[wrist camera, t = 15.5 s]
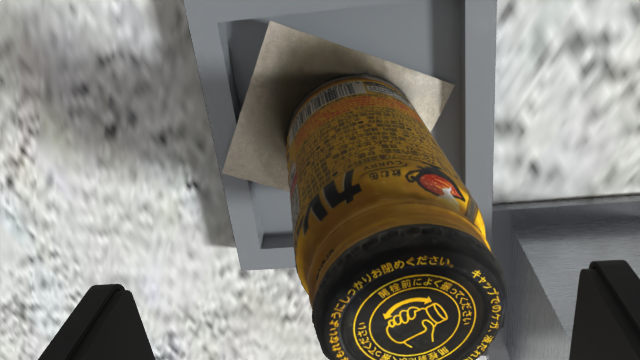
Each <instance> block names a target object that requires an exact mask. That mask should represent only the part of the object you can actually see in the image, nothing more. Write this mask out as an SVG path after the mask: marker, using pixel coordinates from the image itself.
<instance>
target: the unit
mask: <svg viewBox="0 0 640 360" xmlns="http://www.w3.org/2000/svg"><path fill="white" fill-rule="evenodd" d="M491 252H492V254H493V255H494V257H495V258H496V260H497V261H498V262H499V264H500V266H501V268H502V269H503V271H504V276H505V279H506V287H507V295H508V306H507V311H506V318H505V322H504V327H503V328H502V329H500V331H499V332H498V334H497V336H496V337H495V339H494V341H492V342H491V344H490V345H489V347H488V348H487V350H486V358H487V360H569V355H570V347H571V339H572V331H573V323H574V315H575V307H576V299H577V291H578V283H579V275H580V271H581V270H582V269H589V265H590V263H591V262H592V261H603V260H625V261H626V262H627V263H628V264H629V265H630V266H631V268H632V269H633V271H634V272H635V273H636V275H637V276H638V277H639V279H640V195H631V196H616V197H602V198H587V199H572V200H558V201H543V202H529V203H514V204H500V205H492V239H491Z"/></svg>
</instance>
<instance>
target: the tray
mask: <svg viewBox="0 0 640 360" xmlns="http://www.w3.org/2000/svg"><path fill="white" fill-rule="evenodd" d="M183 1H184V6H185V10H186V15H187V20H188V24H189V29H190V34H191V38H192V43H193V48H194V52H195V57H196V62H197V66H198V71H199V75H200V80H201V85H202V89H203V94H204V99H205V103H206V108H207V113H208V117H209V122H210V127H211V131H212V136H213V141H214V145H215V150H216V155H217V159H218V164H219V169H220V173H221V178H222V183H223V187H224V192H225V197H226V201H227V206H228V211H229V215H230V220H231V225H232V229H233V234H234V239H235V243H236V248H237V253H238V257H239V262H240V267H241V271H243V270H261V269H278V268H295V267H296V266H295V265H296V263H295V253H294V244H293V243H294V242H293V232H292V220H291V219H292V215H291V202H290V192H289V191H284V190H281V189H278V188H275V187H271V186H265V185H262V184H259V183H256V182H253V181H249V180H244V179H240V178H237V177H234V176H231V175H227V174H223V173H222V171H223V168H224V164H225V161H226V158H227V155H228V152H229V148H230V145H231V142H232V139H233V136H234V132H235V130H236V126H237V123H238V119H239V116H240V113H241V110H242V107H243V104H244V100H245V97H246V94H247V91H248V88H249V85H250V81H251V78H252V75H253V73H254V69H255V66H256V63H257V59H258V56H259V53H260V50H261V47H262V44H263V41H264V38H265V34H266V31H267V28H268V25H269V22H270V21H272V22H275V23H278V24H281V25H284V26H287V27H289V28H292V29H295V30H298V31H301V32H304V33H308V34H311V35H314V36H317V37H319V38H322V39H325V40H328V41H330V42H333V43H336V44H339V45H342V46H344V47H347V48H350V49H353V50H356V51H359V52H363V53H365V54H368V55H371V56H374V57H377V58H380V59H383V60H385V61H389V62H392V63H395V64H397V65H400V66H403V67H406V68H408V69H411V70H414V71H417V72H420V73H423V74H426V75H428V76H431V77H434V78H437V79H439V80H442V81H445V82H448V83H451V84H454V85H455V86H454V88H453V90H452V92H451V94H450V96H449V98H448V100H447V102H446V104H445V106H444V108H443V110H442V112H441V115H440V116H439V118H438V120H437V122H436V123H435V125H434V127H433V129H432V131H431V134H432V135H433V137H434V139H435V141H436V142H437V144H438V145H439V147H440V148H441V149H442V151H443V152H444V154H445V156H446V157H447V159H448V160H449V162H450V163H451V165H452V166H453V168H454V170H455V171H456V173H457V174H458V176H459V177H460V179H461V180H462V182H463V183H464V185H465V186H466V187H467V189H468V190H469V191H470V193H471V195H472V197H473V199H474V200H475V201H476V203H477V206H478V208H479V210H480V212H481V214H482V217H483V220H484V223H485V233H486V240H487V242H488V244H489V246H490V249H491V239H492V194H493V149H494V104H495V59H496V14H497V0H183Z"/></svg>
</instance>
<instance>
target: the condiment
mask: <svg viewBox="0 0 640 360" xmlns="http://www.w3.org/2000/svg"><path fill="white" fill-rule="evenodd" d="M454 86H455V85H454V84H451V83H448V82H445V81H442V80H439V79H437V78H434V77H431V76H428V75H426V74H423V73H420V72H417V71H414V70H411V69H408V68H406V67H403V66H400V65H397V64H395V63H392V62H389V61H385V60H383V59H380V58H377V57H374V56H371V55H368V54H365V53H363V52H359V51H356V50H353V49H350V48H347V47H344V46H342V45H339V44H336V43H333V42H330V41H328V40H325V39H322V38H319V37H317V36H314V35H311V34H308V33H304V32H301V31H298V30H295V29H292V28H289V27H287V26H284V25H281V24H278V23H275V22H272V21H270V22H269V25H268V28H267V31H266V34H265V38H264V41H263V44H262V47H261V50H260V53H259V56H258V59H257V63H256V66H255V69H254V73H253V75H252V78H251V81H250V85H249V88H248V91H247V94H246V97H245V100H244V104H243V107H242V110H241V113H240V116H239V119H238V123H237V126H236V130H235V132H234V136H233V139H232V142H231V145H230V148H229V152H228V155H227V158H226V161H225V164H224V168H223V171H222V173H223V174H227V175H231V176H234V177H237V178H240V179H244V180H249V181H253V182H256V183H259V184H262V185H265V186H271V187H275V188H278V189H281V190H284V191H289V192H290V202H291V215H292V219H291V220H292V232H293V242H294V243H293V244H294V253H295V263H296V265H295V266H296V269H297V273H298V275H299V278H300V280H301V284H302V286H303V287H304V289H305V291H306V292H307V293H308V295H309V300H310V304H311V307H312V310H313V311H312V322H313V324H314V328H315V330H316V334H317V338H318V340H319V342H320V346H321V349H322V351H323V353H324V355H325V356H326V357H327V358H328V359H330V360H476V359H477V358H479V357H480V356H481V355H482V354H483V353H484V352H485V351H486V350H487V348H488V347H489V345H490V344H491V342H492V341H494V339H495V337H496V336H497V334H498V332H499V331H500V329H502V328H503V327H504V322H505V318H506V311H507V306H508V295H507V287H506V279H505V276H504V271H503V269H502V268H501V266H500V264H499V262H498V261H497V260H496V258H495V257H494V255H493V254H492V252H491V249H490V246H489V244H488V242H487V240H486V233H485V223H484V220H483V217H482V214H481V212H480V210H479V208H478V206H477V203H476V201H475V200H474V199H473V197H472V195H471V193H470V191H469V190H468V189H467V187H466V186H465V185H464V183H463V182H462V180H461V179H460V177H459V176H458V174H457V173H456V171H455V170H454V168H453V166H452V165H451V163H450V162H449V160H448V159H447V157H446V156H445V154H444V152H443V151H442V149H441V148H440V147H439V145H438V144H437V142H436V141H435V139H434V137H433V135H432V134H431V131H432V129H433V127H434V125H435V123H436V122H437V120H438V118H439V116H440V115H441V112H442V110H443V108H444V106H445V104H446V102H447V100H448V98H449V96H450V94H451V92H452V90H453V88H454Z"/></svg>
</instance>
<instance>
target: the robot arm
mask: <svg viewBox="0 0 640 360" xmlns="http://www.w3.org/2000/svg"><path fill="white" fill-rule="evenodd" d="M38 360H155V357H154V355H153V352H152V349H151V346H150V343H149V340H148V338H147V335H146V332H145V329H144V326H143V323H142V320H141V318H140V315H139V312H138V309H137V306H136V303H135V301H134V298H133V295H132V293H131V292H130V291H128V290H125V289H124V287H123V286H122V285H120V284H107V285H94V286H92V287H91V288H90V289H89V290H88V291H87V293H86V294H85V296H84V297H83V298H82V300H81V301H80V302H79V304H78V305H77V307H76V308H75V309H74V311H73V312H72V313H71V315H70V316H69V318H68V319H67V320H66V322H65V323H64V324H63V326H62V327H61V329H60V330H59V331H58V333H57V334H56V335H55V337H54V338H53V340H52V341H51V342H50V344H49V345H48V347H47V348H46V349H45V351H44V352H43V353H42V355H41V356H40V358H39V359H38ZM569 360H640V279H639V277H638V276H637V275H636V273H635V272H634V271H633V269H632V268H631V266H630V265H629V264H628V263H627V262H626V261H625V260H603V261H592V262H591V263H590V265H589V269H582V270H581V271H580V275H579V283H578V291H577V299H576V307H575V315H574V323H573V331H572V339H571V347H570V355H569Z"/></svg>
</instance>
